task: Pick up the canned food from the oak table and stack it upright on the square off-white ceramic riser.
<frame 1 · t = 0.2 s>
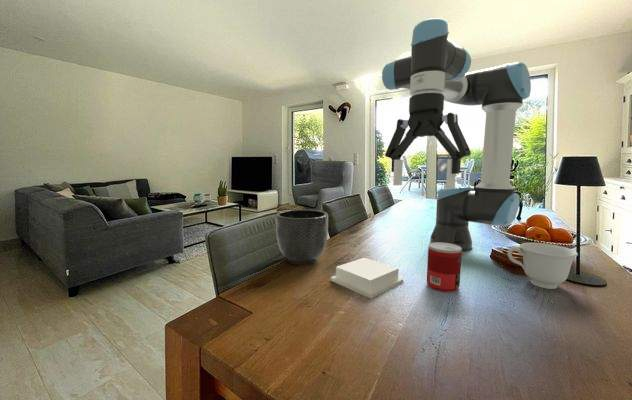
hand: (421, 187, 69), 27 cm above the table, fingers open, 13 cm apart
riser: (366, 281, 79), on the table
planter: (302, 261, 96), on the table
canned food: (442, 287, 76), on the table
teacup: (537, 284, 77), on the table
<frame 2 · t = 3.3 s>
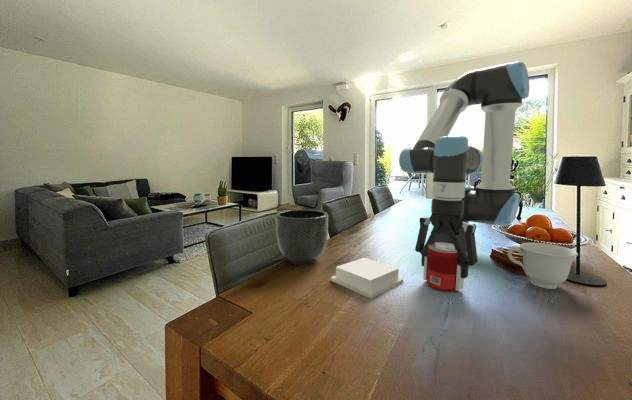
hand: (442, 283, 76), 1 cm above the table, fingers closed on canned food, 8 cm apart
canned food: (442, 286, 76), on the table, touching gripper
everything else where it was.
when the fingers open (6 cm above the table, at t = 8.9 s): canned food stays where it is, resting on riser.
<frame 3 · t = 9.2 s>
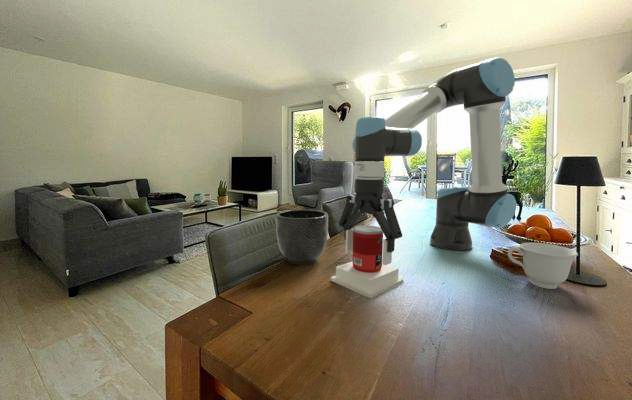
hand: (367, 257, 78), 7 cm above the table, fingers open, 12 cm apart
canned food: (367, 268, 78), point 4 cm above the table, touching riser
everything else where it was.
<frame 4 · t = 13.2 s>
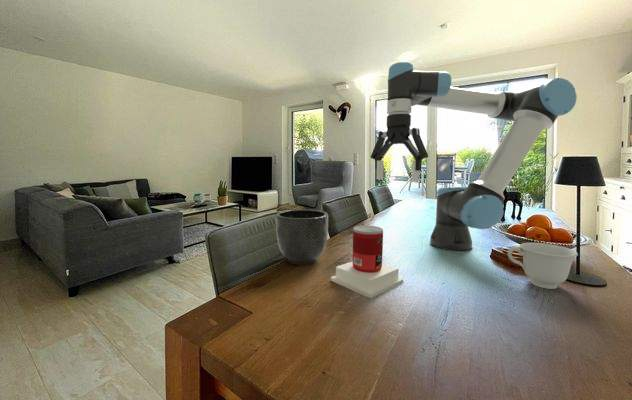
hand: (396, 180, 95), 27 cm above the table, fingers open, 13 cm apart
nothing on the table moved.
at the end: canned food inside the target area on the riser (0.0 cm from its centre), point 3.8 cm above the riser's base; canned food tilted 0°; the gripper is holding nothing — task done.
